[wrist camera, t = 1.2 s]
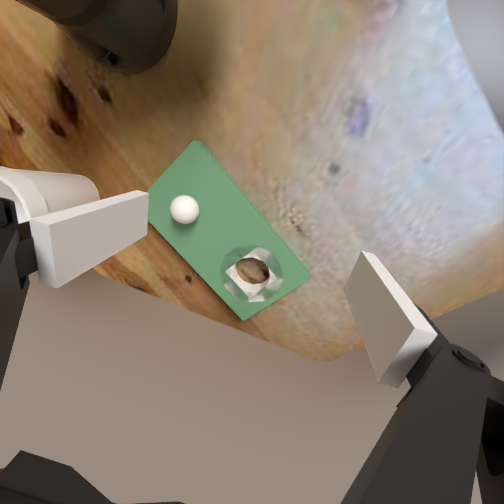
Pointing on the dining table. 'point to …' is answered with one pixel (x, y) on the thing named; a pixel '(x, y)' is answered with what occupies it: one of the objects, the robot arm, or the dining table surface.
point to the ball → (184, 209)
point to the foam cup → (44, 191)
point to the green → (222, 232)
